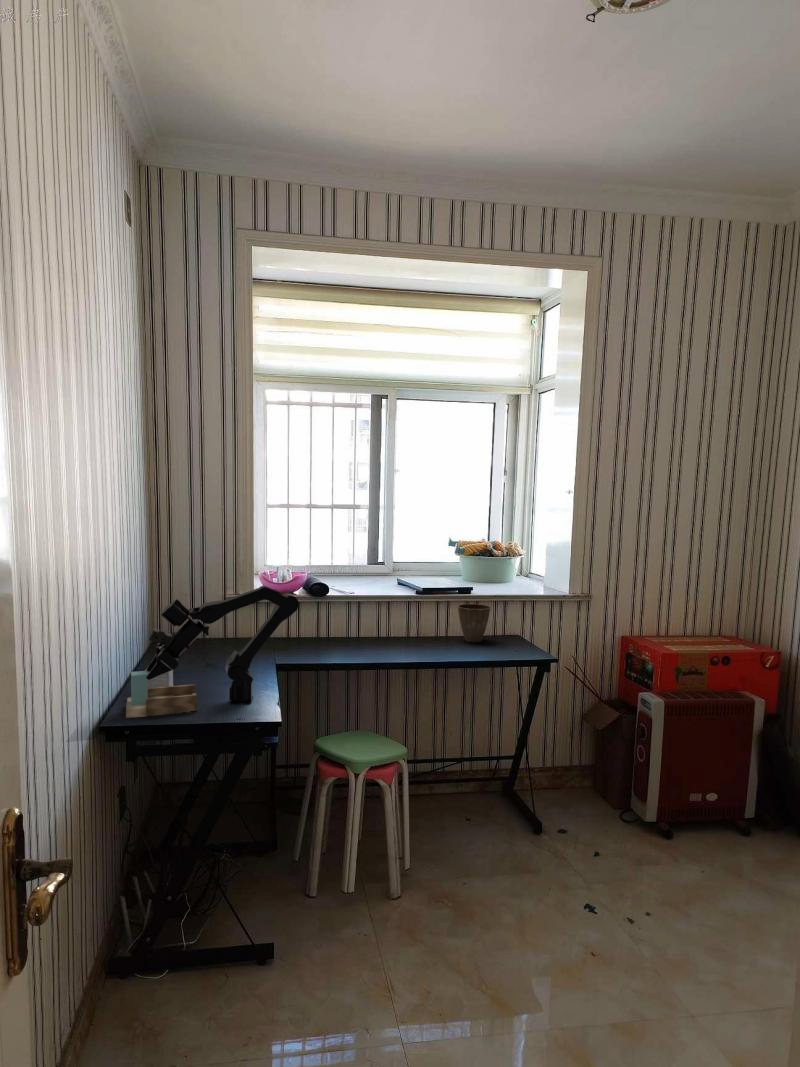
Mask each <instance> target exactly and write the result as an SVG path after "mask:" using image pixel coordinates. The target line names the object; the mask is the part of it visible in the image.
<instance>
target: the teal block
mask: <svg viewBox="0 0 800 1067" xmlns="http://www.w3.org/2000/svg"><path fill="white" fill-rule="evenodd" d="M146 677H147V671H145V670H139V671H131V672H130V697H131V705H142V704H146V699H147V678H146Z"/></svg>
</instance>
